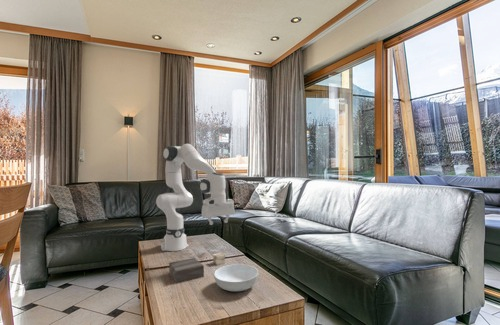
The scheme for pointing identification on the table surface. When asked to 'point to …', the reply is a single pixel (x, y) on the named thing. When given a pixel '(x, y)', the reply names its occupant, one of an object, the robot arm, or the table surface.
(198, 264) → the charcoal riser block
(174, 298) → the table surface
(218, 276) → the serving bowl
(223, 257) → the birch cube
